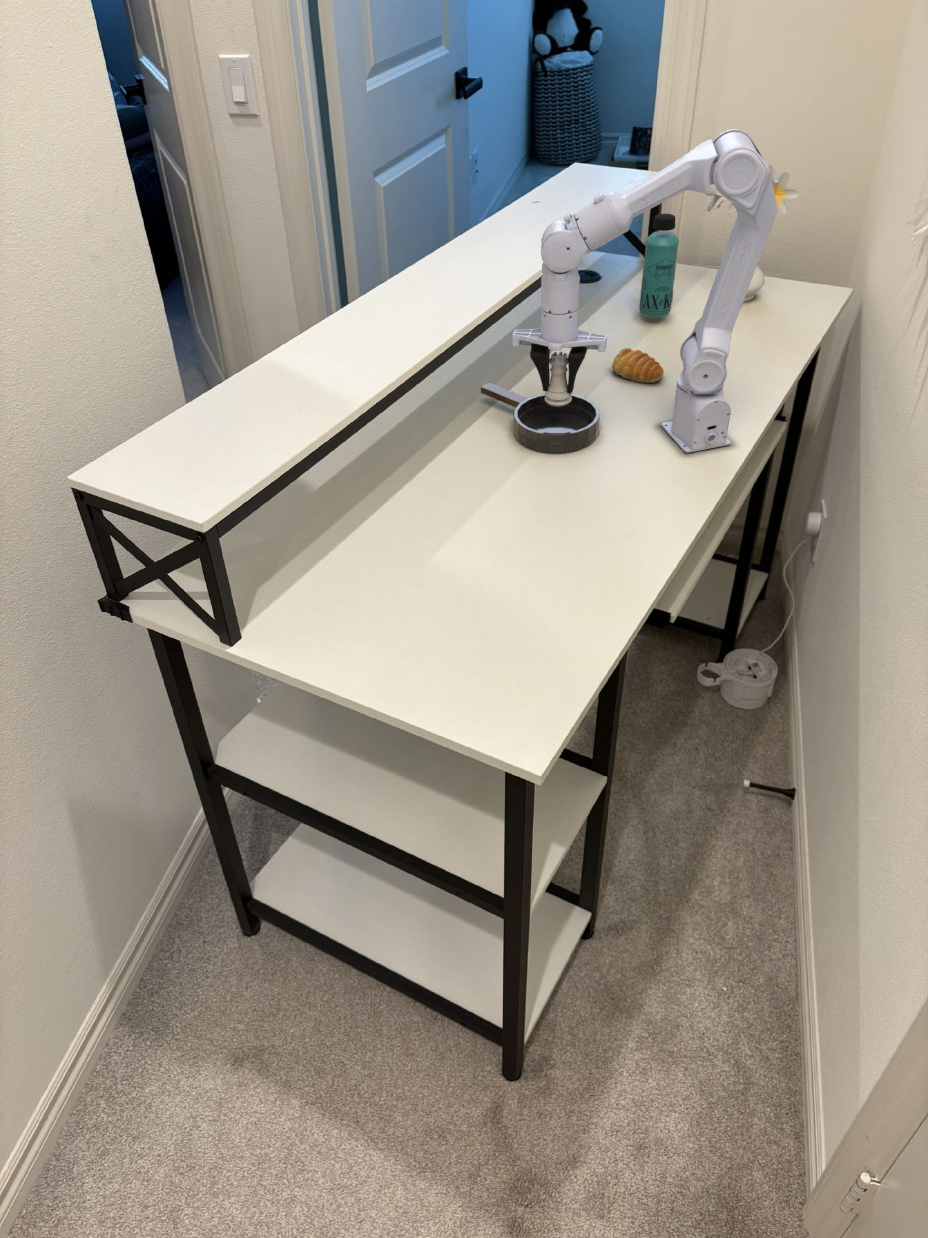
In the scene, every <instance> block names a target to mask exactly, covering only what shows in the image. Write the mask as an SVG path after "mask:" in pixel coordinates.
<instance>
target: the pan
mask: <svg viewBox="0 0 928 1238" xmlns="http://www.w3.org/2000/svg"><path fill="white" fill-rule="evenodd" d="M545 396H546V395H545V393H542V394H535V395H534V396H531V397H527V398H528V399H526V400H524V401H523V402H521V403H520V404H519V405H518V406H517V407H516V408H515V409H514V410H513V435H514V436H515V438H516V439H517V441H518V442H519V443H521V444H522V445H523V446H525V447H526V448H529V449H530V450H533V451H536V452H541V453H546V454H566V453H572V452H576V451H579V450H582V449H584V448H587V447H588V446H590V445H591V444H592V443H593V442H594V441H595V440H596V439H597V437H598V435H599V434H600V421H601V420H600V418H601V417H600V416H601V415H600V409H599V407H598V406H597V405H596V404H595V402H593V401H592V400H590V399H588V398H586V397H584V396H580V395H577V394H574V393H572V394H571V397H572V400H571V402H570V403H569V404H567V405H566V406H562V407H554V406H551V405H549V404H548V403H547V402H546V401H545ZM528 401H530V407H529V408H527V409H526V403H527V402H528Z"/></svg>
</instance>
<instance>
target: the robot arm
mask: <svg viewBox="0 0 928 1238" xmlns="http://www.w3.org/2000/svg"><path fill="white" fill-rule="evenodd" d="M768 167H769V165H767V163H766V161H765V159H764V157H763V154H762V152H761V150H760V148H759V147H758V146H757V145H756V143H755V141H754V140H753V139H752V137H751V136H750V134H748V133H747V132H746V131H744V130H741V129H737V128H732V129H728V130H725V131H723V132H721V133H719V134H718V135H717V136H716V137H715V138H714V139H712V138H710V139H708V140H704V141H703V142H701V143H700V144H698V145H697V146H695V147H694V148H692V149H691V150H690V151H689V152H687V153H686V154H683V155H682V156H681V157H680V158H678V159H676V160H674V162H672V163H670V164H669V165H667V166H665V167H664V168H663V169H661V170H659V171H658V172H657V173H655V174H653V175H651V176H650V177H649V178H647V179H646V180H644V181H643V182H641V183H640V184H638V185H636V186H635V187H633V188H632V189H631V190H629V191H627V192H626V193H623V194H622V193H619V192H618V193H617V192H614V191H610V192H608V193H606V194H605V195H604V194H603V192H599V193H598V194H596V195H594V196H593V202H591V203H589V204H588V205H586V206H585V207H583V208H582V209H580V210H578V211H576V212H574V213H573V214H571V213H570V212H568V213H567V214H565V215H564V216H563V220H562V219H558V220H555V221H553V222H551V223H550V224H548V226H546V228H545V230H544V231H543V234H542V237H541V238H540V239H541V240H540V241H541V245H540V246H541V247H540V256H541V260H542V264H541V273H542V274H541V278H540V281H541V282H540V286H541V287H540V327H539V328H528V329H514V331H513V332H512V335H511V338H512V347H517V348H518V347H520V346H530V351H529V357H530V359H531V361H532V363H533V364H534V366H535V368H536V370H537V373H538V375H539V378H540V382H541V387H542V391H543V392H546V391H547V390H548V386H549V384H550V380H551V371H550V363H549V359H550V358H551V351H562V350H563V349H570V350H569V353H568V355H567V357H568V364H567V366H568V377H567V378H568V379H567V384H568V387H567V392H568V393H572V394H573V391H574V389H575V382H576V377H577V374H578V372H579V370H580V368H581V366H582V364H583V361H584V360H585V358H586V354H587V352H588V350H595V351H597V352H599V353H605V352H606V349H607V342H608V335H607V334H601V333H600V334H598V333H595V332H589V331H586V330H581V329H579V316H580V315H579V313H580V285H581V283H580V282H581V276H580V274H579V264H580V263H581V261H582V257H584V255H587V254H590V253H592V252H594V251H595V250H597V249H599V248H601V247H603V246H604V245H606V244H608V243H609V242H612V241H613V240H615V239H618V238H619V237H620V236H622V235H623V234H625V233H627V232H629V230H630V228H631V226H632V222H633V220H634V218H636V217H638V216H640V215H641V214H643V213H646V212H647V211H649V210H651V209H653V208H655V207H657V206H659V205H661V204H663V203H665V202H667V201H668V200H671V199H672V198H674V197H676V196H678V195H680V194H682V193H684V192H686V191H691V192H696V193H701V194H704V195H706V194H711V188H710V185H714V184H715V187H716V189H717V190H718V191H719V192H720V193H721V194H722V195H723V196H724V197H725V198H727V200H728V201H729V202H730V203H733V205H734V207H735V209H736V211H737V212H736V213H737V215H736V218H735V221H734V223H733V226H732V229H731V231H730V235H729V238H728V240H727V244H726V247H725V249H724V252H723V255H722V257H721V260H720V264H719V266H718V268H717V272H716V275H715V276H714V277H715V278H714V280H713V283H712V286H711V289H710V292H709V295H708V298H707V300H706V302H705V306H704V309H703V312H702V314H701V316H700V318H699V319H698V320H697V321H696V322H695V324H694V327H693V329H692V331H691V333H690V334H689V335H688V336H687V337H686V338H685V339H684V340H683V342H682V344H681V346H680V350H679V355H680V359H681V361H682V362H681V363H682V366H683V367H682V368H683V369H682V371H681V372H680V374H679V375H678V376H677V379H676V386H675V395H674V402H673V411H672V412H673V413H672V420H670V421H665V422H662V423H661V427H662V429H663V430H664V431H665V432H666V433H667V434H668V435H669V436H670V437H671V439H672V440H673V441H674V442H675V443H676V444H677V445H678V446H679V448H680V449H681V450H682V451H683V452H684V453H686V454H689V453H693V452H698V451H704V450H709V449H714V448H719V447H720V448H721V447H725V446H729V445H731V440H730V439H729V438H728V432H729V431H728V430H729V424H730V420H731V412H732V411H731V407H730V404H729V403H728V401H727V400H726V398H725V395H724V384H725V382H726V379H727V376H728V369H727V360H728V357H729V354H730V350H731V349H730V348H731V340H732V333H733V329H734V327H735V325H736V322H737V319H738V317H739V314H740V312H741V309H742V306H743V303H744V302H743V301H744V298H745V296H746V293H747V290H748V288H749V285H750V283H751V280H752V277H753V275H754V272H755V269H756V267H757V265H758V264H759V261H760V259H761V256H762V253H763V251H764V248H765V246H766V243H767V240H768V238H769V235H770V232H771V230H772V227H773V225H774V222H775V220H776V217H777V214H778V209H777V203H776V199H775V194H774V190H773V185H772V181H771V176H770V170H769V168H768ZM723 196H722V197H723Z"/></svg>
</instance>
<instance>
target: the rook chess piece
mask: <svg viewBox="0 0 928 1238" xmlns="http://www.w3.org/2000/svg"><path fill="white" fill-rule="evenodd" d="M558 353H559V354H558ZM549 365H550V366H551V367H550V368H549V372H550V384H549V386H548V390H547V391H544V394H545V395H546V396H545V401H546V402H547V403H548V404H549V405H551V406H554V407H562V406H566V405H567V404H569V403H570V402H571V400H572V397H571V394H573V392H572V393H568V392H567V387H568V379H567V378H568V377H567V372H568V371H569V368H568V367H567V366H568V355H567V353H566V352H563V351H559V352H557V351H554V352H553V353H550V359H549Z"/></svg>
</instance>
